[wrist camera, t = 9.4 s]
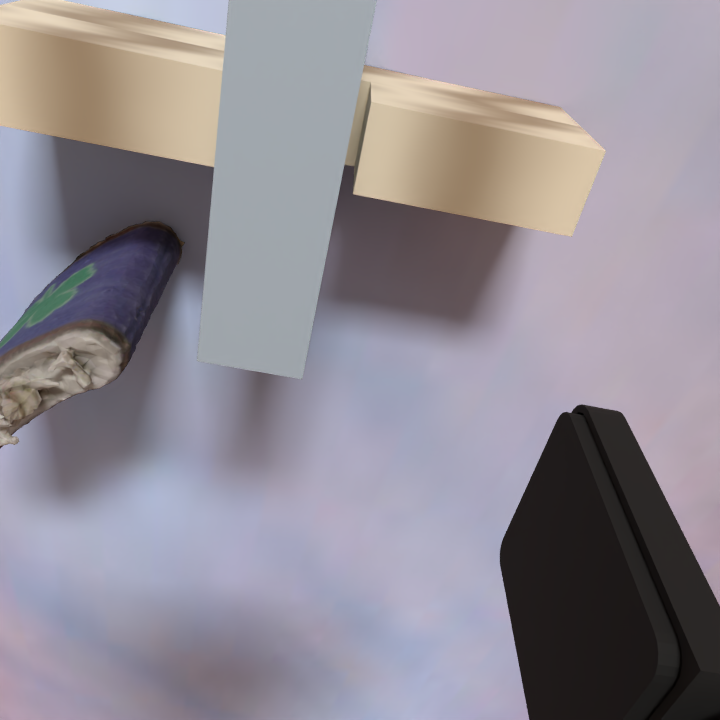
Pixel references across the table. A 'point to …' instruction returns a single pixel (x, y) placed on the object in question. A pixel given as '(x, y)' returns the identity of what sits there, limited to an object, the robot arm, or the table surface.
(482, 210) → the rail
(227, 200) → the flat gray plate
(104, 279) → the flask
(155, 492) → the table surface
